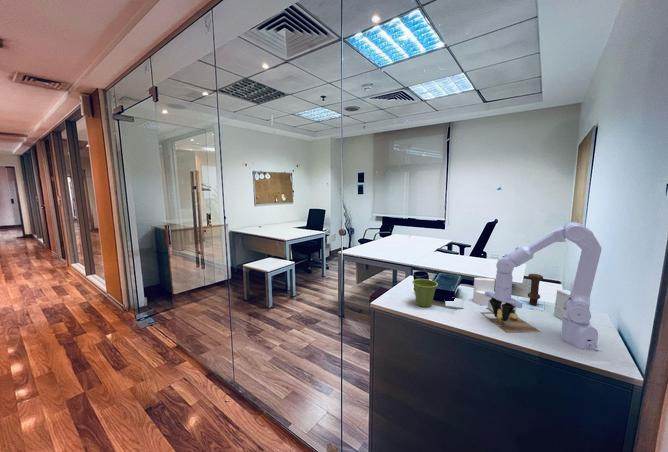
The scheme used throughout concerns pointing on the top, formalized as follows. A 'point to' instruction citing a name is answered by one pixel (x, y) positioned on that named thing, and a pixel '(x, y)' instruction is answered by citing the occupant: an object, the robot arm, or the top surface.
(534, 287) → the bolt
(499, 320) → the pin
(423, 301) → the plant pot
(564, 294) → the skincare box
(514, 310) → the housing
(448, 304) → the hard drive
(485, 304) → the base with upright slab
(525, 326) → the board
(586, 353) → the top surface
